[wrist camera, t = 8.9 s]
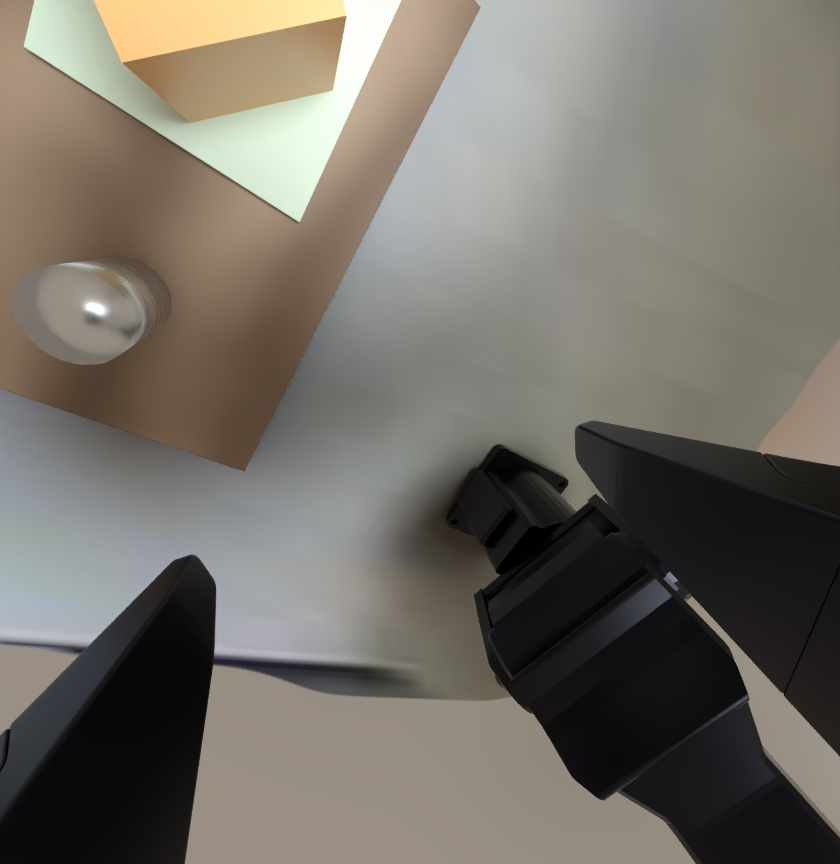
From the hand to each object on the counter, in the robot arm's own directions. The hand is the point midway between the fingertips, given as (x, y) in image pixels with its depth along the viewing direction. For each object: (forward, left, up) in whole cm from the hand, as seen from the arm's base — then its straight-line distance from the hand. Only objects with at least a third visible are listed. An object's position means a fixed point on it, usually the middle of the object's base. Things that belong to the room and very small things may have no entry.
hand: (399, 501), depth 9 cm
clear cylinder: (+9, +2, -12) cm, 15 cm away
